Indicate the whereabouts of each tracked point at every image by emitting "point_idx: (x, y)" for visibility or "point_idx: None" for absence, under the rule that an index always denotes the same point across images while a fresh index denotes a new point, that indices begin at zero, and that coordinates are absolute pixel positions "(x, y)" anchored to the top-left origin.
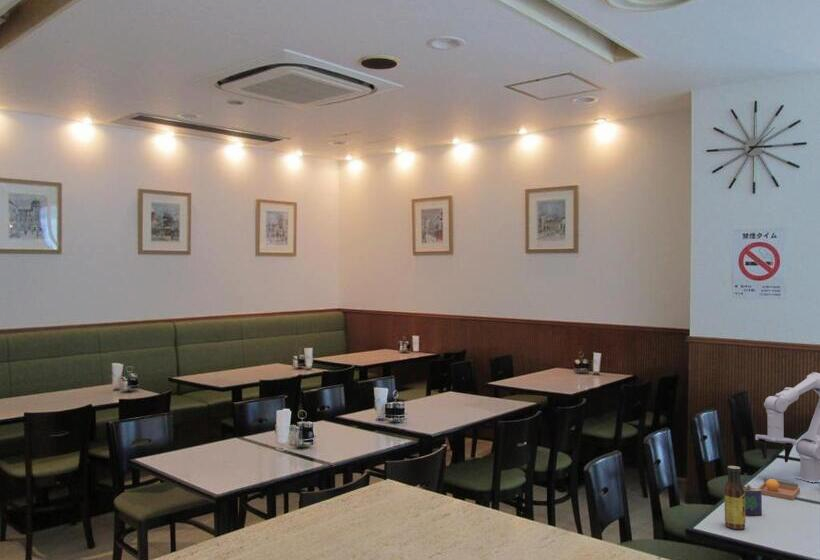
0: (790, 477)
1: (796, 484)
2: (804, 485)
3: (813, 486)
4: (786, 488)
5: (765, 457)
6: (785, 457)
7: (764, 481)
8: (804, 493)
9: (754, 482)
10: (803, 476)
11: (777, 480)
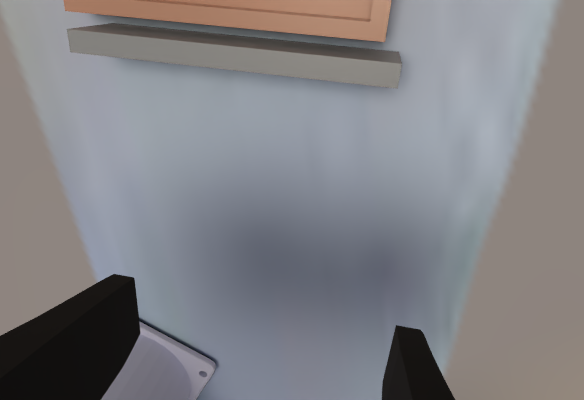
0: (247, 372)
1: (81, 29)
2: (131, 237)
3: (83, 241)
4: (184, 1)
5: (396, 343)
6: (72, 311)
7: (392, 57)
8: (60, 6)
9: (488, 117)
10: (154, 359)
11: (254, 48)
